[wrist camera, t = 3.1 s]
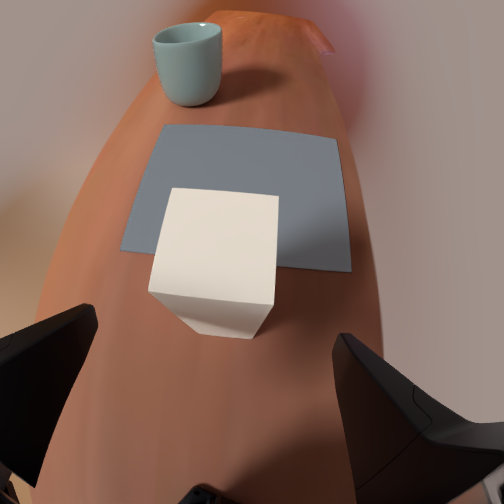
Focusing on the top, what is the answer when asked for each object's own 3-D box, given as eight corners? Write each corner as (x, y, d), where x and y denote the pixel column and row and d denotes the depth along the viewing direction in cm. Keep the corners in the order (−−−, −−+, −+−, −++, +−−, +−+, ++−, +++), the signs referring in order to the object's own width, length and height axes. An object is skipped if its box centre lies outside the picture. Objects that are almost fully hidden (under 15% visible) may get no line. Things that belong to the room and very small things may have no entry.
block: (252, 339, 20) (273, 304, 8) (198, 333, 20) (147, 291, 8) (255, 288, 21) (278, 196, 10) (205, 283, 21) (172, 187, 10)
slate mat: (350, 273, 22) (351, 272, 22) (120, 251, 22) (119, 250, 22) (335, 141, 29) (336, 139, 28) (164, 126, 28) (164, 124, 28)
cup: (226, 82, 32) (226, 21, 23) (219, 114, 29) (217, 41, 20) (172, 84, 32) (163, 25, 23) (157, 116, 29) (142, 48, 20)
